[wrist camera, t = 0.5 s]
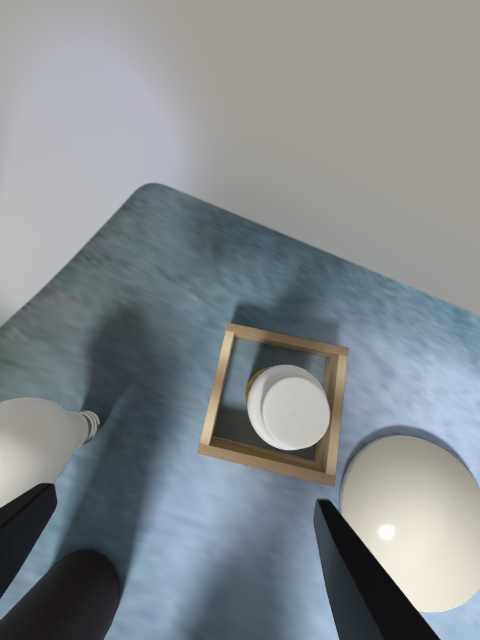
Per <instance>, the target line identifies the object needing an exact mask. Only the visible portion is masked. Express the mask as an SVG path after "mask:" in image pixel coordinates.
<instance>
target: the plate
mask: <svg viewBox="0 0 480 640" xmlns="http://www.w3.org/2000/svg"><path fill="white" fill-rule="evenodd" d="M339 508H340V514H341V515H342V516H343V517H344V519H345V520H346V521H347V522H348V524H349V525H350V526H351V527H352V529H353V530H354V531H355V533H356V534H357V535H358V536H359V538H360V539H361V540H362V541H363V543H364V544H365V545H366V546H367V548H368V549H369V550H370V551H371V553H372V554H373V555H374V556H375V558H376V559H377V560H378V561H379V563H380V564H381V565H382V567H383V568H384V569H385V570H386V572H387V573H388V574H389V575H390V577H391V578H392V579H393V580H394V582H395V583H396V584H397V585H398V587H399V588H400V589H401V590H402V592H403V593H404V594H405V595H406V597H407V598H408V599H409V601H410V602H411V603H412V604H413V606H414V607H415V608H416V609H417V611H422V612H443V611H447V610H450V609H454V608H456V607H458V606H460V605H462V604H464V603H465V602H466V601H468V600H469V599H470V598H471V597H472V596H473V595H474V594H475V593H476V592H477V591H478V590H479V588H480V487H479V486H478V484H477V482H476V481H475V479H474V478H473V476H472V475H471V474H470V472H469V471H468V470H467V469H466V468H465V466H464V465H463V464H462V463H461V462H460V461H459V460H458V459H457V458H455V457H454V456H453V455H452V454H450V453H449V452H448V451H446V450H444V449H443V448H441V447H440V446H438V445H435V444H433V443H431V442H429V441H426V440H423V439H420V438H417V437H413V436H408V435H390V436H385V437H381V438H379V439H376V440H374V441H372V442H370V443H369V444H367V445H366V446H364V447H363V448H362V449H361V450H360V451H359V452H358V453H357V454H356V455H355V456H354V457H353V459H352V461H351V462H350V464H349V465H348V467H347V470H346V472H345V474H344V477H343V480H342V484H341V490H340V499H339Z"/></svg>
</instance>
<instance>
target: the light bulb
mask: <svg viewBox="0 0 480 640" xmlns="http://www.w3.org/2000/svg"><path fill="white" fill-rule="evenodd" d="M99 427H100V419H99V417H98V416H97V414H96V413H95V412H92V411H89V410H85V411H79V412H67V411H66V410H65V409H64V408H63V407H61V406H60V405H58V404H56V403H55V402H52V401H48V400H45V399H41V398H18V399H12V400H7V401H3V402H0V508H1V507H2V506H4V505H5V504H7V503H9V502H10V501H12V500H13V499H15V498H17V497H18V496H20V495H21V494H23V493H25V492H26V491H28V490H29V489H31V488H33V487H34V486H36V485H38V484H40V483H53V482H54V481H55V480H56V479H57V478H58V477H59V476H60V474H61V473H62V472H63V471H64V469H65V467H66V466H67V464H68V462H69V460H70V458H71V456H72V454H73V452H74V451H76V450H77V449H78V448H79V447H81V446H82V445H83V444H86V443H88V442H90V441H91V440H92V438H93V437H94V436H95V435H96V434H97V432H98V430H99Z"/></svg>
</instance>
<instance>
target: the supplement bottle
mask: <svg viewBox="0 0 480 640" xmlns="http://www.w3.org/2000/svg"><path fill="white" fill-rule="evenodd" d="M246 403H247V409H248V415H249V418H250V421H251V424H252V426H253V428H254V429H255V431H256V432H257V434H258V435H259V436H260V437H261V438H262V439H263V440H264V441H265V442H267V443H268V444H270V445H271V446H274V447H276V448H279V449H283V450H298V449H301V448H306V447H309V446H312V445H314V444H315V443H317V442H318V441H319V440H320V439H321V438H322V437H323V435H324V434H325V432H326V430H327V428H328V425H329V420H330V409H329V404H328V401H327V397H326V394H325V391H324V389H323V387H322V385H321V384H320V382H319V381H318V380H317V379H316V378H315V377H314V376H313V375H312V374H311V373H310V372H308V371H306V370H305V369H303V368H301V367H298V366H294V365H277V366H271V367H266V368H263V369H261V370H259V371H258V372H256V373H255V374H254V375H253V376H252V377H251V379H250V380H249V382H248V385H247V388H246Z"/></svg>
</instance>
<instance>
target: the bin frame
mask: <svg viewBox="0 0 480 640" xmlns="http://www.w3.org/2000/svg"><path fill="white" fill-rule="evenodd" d="M235 337H236V338H241V339H245V340H250V341H255V342H259V343H264V344H269V345H273V346H278V347H283V348H288V349H292V350H297V351H302V352H306V353H311V354H316V355H320V356H325V357H327V359H326V367H325V375H324V383H323V389H324V391H325V394H326V397H327V401H328V404H329V409H330V420H329V425H328V428H327V430H326V432H325V434H324V435H323V437H322V438H321V439H320V440H319V441H318V442H317V443H316V449H315V457H314V460H313V459H309V458H305V457H300V456H296V455H292V454H288V453H284V452H279V451H275V450H271V449H267V448H262V447H258V446H254V445H250V444H245V443H241V442H237V441H233V440H229V439H224V438H220V437H216V436H213V434H214V429H215V425H216V420H217V416H218V411H219V407H220V402H221V398H222V393H223V389H224V384H225V380H226V375H227V371H228V366H229V362H230V357H231V353H232V348H233V344H234V339H235ZM347 357H348V348H346V347H342V346H337V345H332V344H327V343H323V342H318V341H313V340H308V339H304V338H299V337H294V336H289V335H285V334H280V333H275V332H270V331H265V330H261V329H256V328H251V327H246V326H242V325H237V324H232V323H228V324H227V329H226V333H225V337H224V341H223V346H222V350H221V354H220V359H219V363H218V367H217V371H216V376H215V380H214V384H213V389H212V393H211V397H210V401H209V406H208V410H207V414H206V419H205V423H204V427H203V431H202V436H201V440H200V444H199V449H198V453H197V454H202V455H206V456H210V457H214V458H218V459H222V460H226V461H230V462H235V463H239V464H243V465H247V466H251V467H255V468H259V469H264V470H268V471H272V472H276V473H280V474H284V475H288V476H293V477H297V478H301V479H305V480H309V481H313V482H317V483H322V484H326V485H330V486H335V476H336V466H337V456H338V446H339V436H340V426H341V417H342V407H343V397H344V387H345V377H346V367H347Z"/></svg>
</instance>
